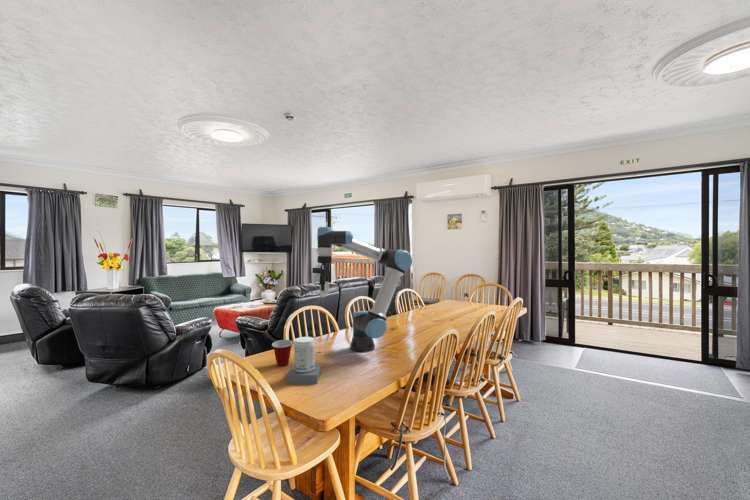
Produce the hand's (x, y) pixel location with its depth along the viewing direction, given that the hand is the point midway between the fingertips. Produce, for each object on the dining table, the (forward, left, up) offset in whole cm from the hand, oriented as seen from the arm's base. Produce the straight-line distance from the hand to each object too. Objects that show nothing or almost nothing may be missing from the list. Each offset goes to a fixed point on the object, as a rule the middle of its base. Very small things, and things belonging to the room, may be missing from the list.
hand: (324, 295), depth 186 cm
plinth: (+7, +21, -37) cm, 43 cm away
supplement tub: (+7, +21, -33) cm, 40 cm away
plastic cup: (+22, +3, -37) cm, 43 cm away
